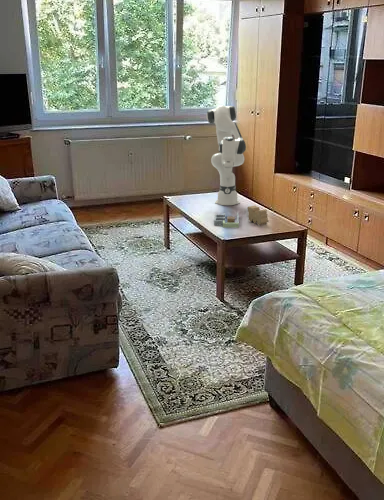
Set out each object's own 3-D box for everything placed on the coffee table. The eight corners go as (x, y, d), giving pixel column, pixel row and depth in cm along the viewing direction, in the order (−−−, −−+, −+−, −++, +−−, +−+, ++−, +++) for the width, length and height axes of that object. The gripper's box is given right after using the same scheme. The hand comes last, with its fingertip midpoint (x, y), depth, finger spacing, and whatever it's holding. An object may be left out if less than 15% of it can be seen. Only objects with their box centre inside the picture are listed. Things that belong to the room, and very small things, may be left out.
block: (227, 223, 351) (227, 216, 349) (234, 223, 351) (234, 216, 349) (227, 225, 346) (227, 218, 345) (234, 225, 346) (234, 218, 344)
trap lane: (215, 216, 367) (215, 212, 366) (238, 216, 365) (238, 212, 364) (213, 227, 343) (213, 223, 342) (238, 227, 342) (238, 223, 341)
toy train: (261, 226, 343) (262, 212, 340) (247, 220, 357) (247, 206, 354) (268, 225, 345) (269, 211, 342) (253, 219, 360) (254, 205, 356)
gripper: (223, 158, 358) (223, 177, 364) (223, 165, 339) (223, 185, 345) (233, 158, 358) (232, 177, 363) (233, 165, 339) (232, 185, 344)
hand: (228, 181), depth 354 cm, fingers closed
